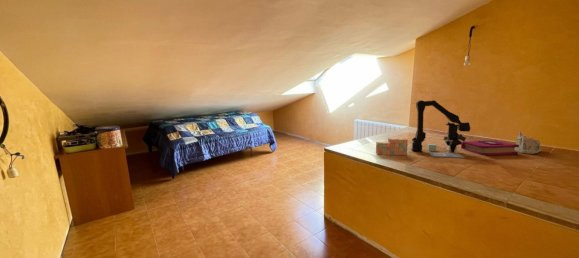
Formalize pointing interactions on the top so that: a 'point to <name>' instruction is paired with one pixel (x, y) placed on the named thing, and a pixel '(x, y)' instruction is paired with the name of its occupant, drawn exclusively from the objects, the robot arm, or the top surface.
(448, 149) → the maple block
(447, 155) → the blueprint board
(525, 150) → the ceramic cottage
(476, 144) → the book
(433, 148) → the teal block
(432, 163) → the top surface
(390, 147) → the stack of blocks
